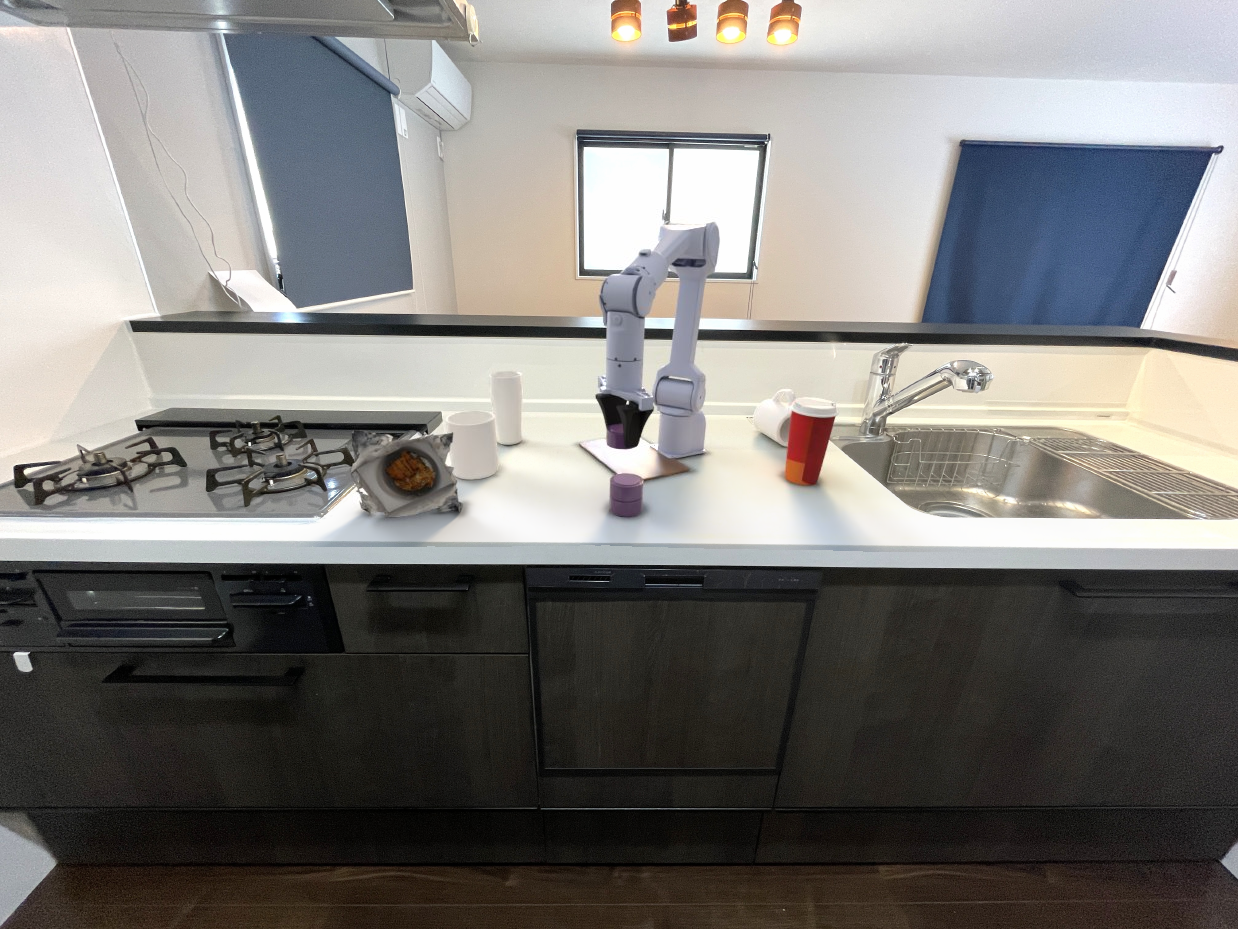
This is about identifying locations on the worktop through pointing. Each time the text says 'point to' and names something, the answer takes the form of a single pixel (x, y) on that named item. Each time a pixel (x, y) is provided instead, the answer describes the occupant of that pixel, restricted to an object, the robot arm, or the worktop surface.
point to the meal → (404, 474)
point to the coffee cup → (808, 438)
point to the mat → (634, 459)
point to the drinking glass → (507, 405)
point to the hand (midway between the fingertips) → (622, 440)
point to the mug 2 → (775, 417)
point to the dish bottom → (625, 507)
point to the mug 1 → (473, 444)
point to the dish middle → (626, 487)
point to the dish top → (615, 436)
